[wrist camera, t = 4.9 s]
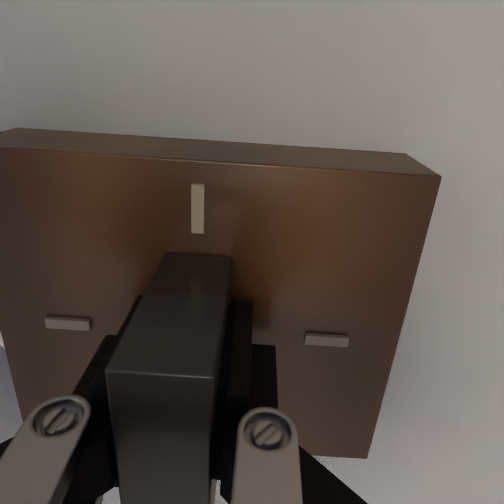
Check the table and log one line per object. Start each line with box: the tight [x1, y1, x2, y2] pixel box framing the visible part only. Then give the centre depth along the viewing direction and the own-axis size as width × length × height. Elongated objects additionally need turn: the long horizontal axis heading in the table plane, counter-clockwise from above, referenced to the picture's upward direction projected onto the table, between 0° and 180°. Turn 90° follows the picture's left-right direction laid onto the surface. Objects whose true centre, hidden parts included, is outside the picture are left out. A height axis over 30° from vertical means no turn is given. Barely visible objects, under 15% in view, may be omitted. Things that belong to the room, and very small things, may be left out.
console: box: [0, 128, 441, 459], centre depth 14 cm, size 13×11×3 cm
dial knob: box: [105, 253, 232, 504], centre depth 11 cm, size 6×2×5 cm, turn 176°
